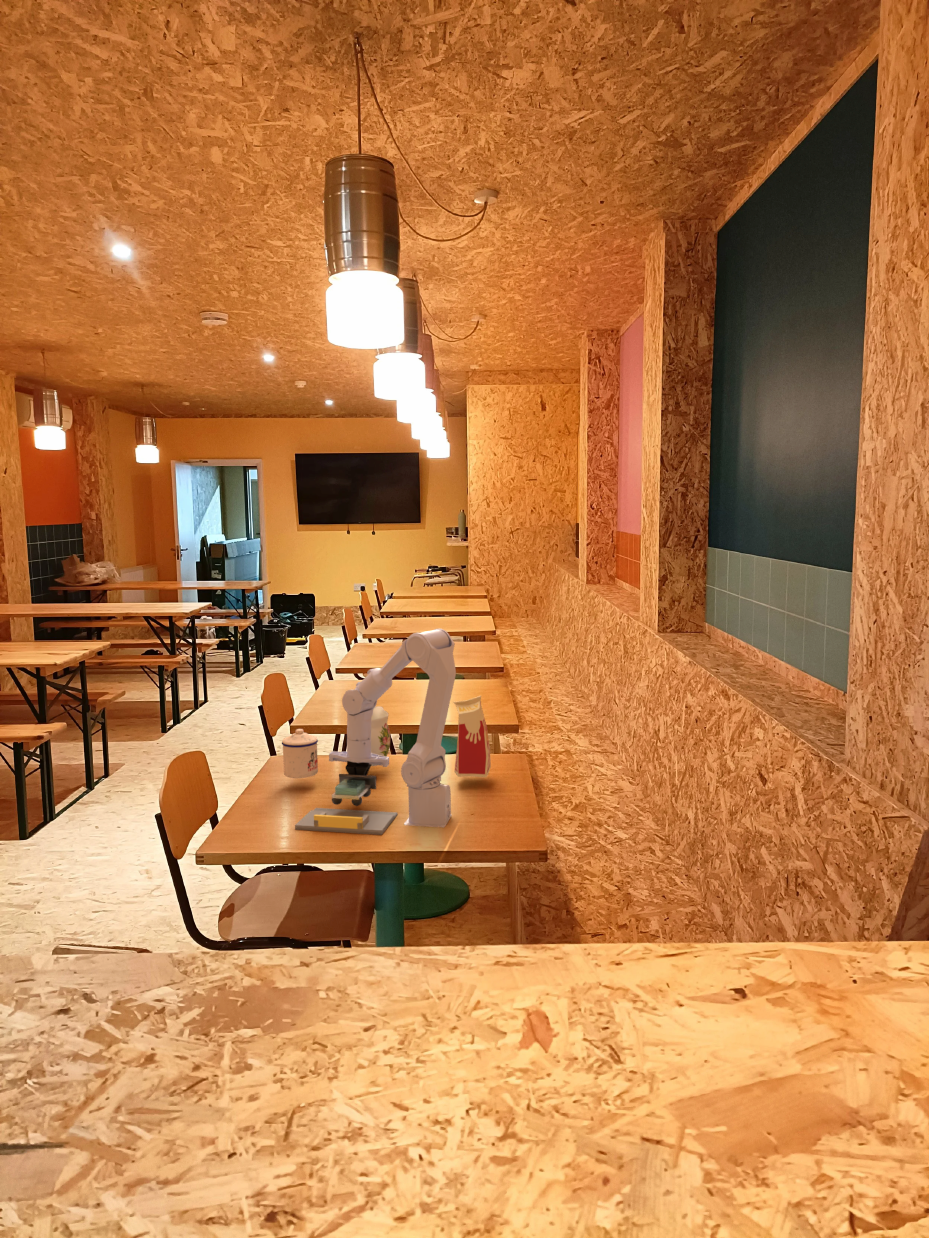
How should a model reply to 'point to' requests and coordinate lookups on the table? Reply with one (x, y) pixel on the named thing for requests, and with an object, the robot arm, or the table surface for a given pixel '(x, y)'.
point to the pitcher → (380, 732)
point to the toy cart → (353, 788)
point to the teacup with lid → (300, 755)
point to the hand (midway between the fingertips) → (358, 791)
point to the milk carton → (472, 740)
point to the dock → (346, 821)
